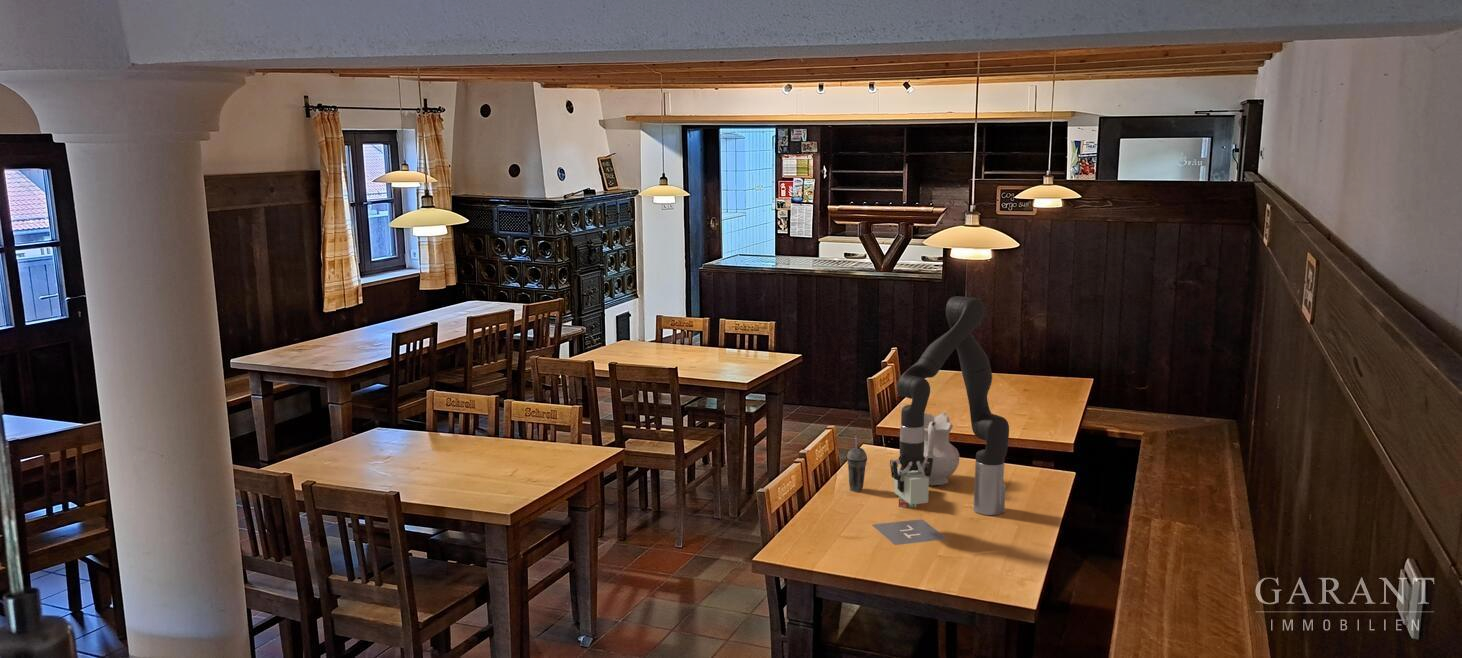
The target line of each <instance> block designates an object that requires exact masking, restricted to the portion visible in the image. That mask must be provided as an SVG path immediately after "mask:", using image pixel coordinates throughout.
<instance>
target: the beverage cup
mask: <svg viewBox="0 0 1462 658" xmlns="http://www.w3.org/2000/svg"><path fill="white" fill-rule="evenodd" d="M846 456H847V457H846V460H847V466H848V469H847V470H848V479H849V480H848V484H849V485H848V486H849V490H850V492H853V491H854V492H855V493H858V492H859V491H860V492H862V491H863V487H864V482H865V473H866V466H867V461H868V455H867V452H866V451H865V450H864V448H862V447H859V446H858V436H857V435H855V446H854V447H852V448H851V449H849V450H848V453H847V455H846Z"/></svg>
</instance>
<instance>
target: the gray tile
mask: <svg viewBox="0 0 1462 658" xmlns="http://www.w3.org/2000/svg"><path fill="white" fill-rule="evenodd" d="M871 526H872V527H874V529H876V530H877V531H878V532H879V533H880V534H881V535H883V536H884V537H885V538H886V539H887V540H888V541H890V542H891V543H892V544H893V545H894V546H898V545H907V544H916V543H917V544H918V543H925V542H933V541H943V540H948V538H947V537H946V536H945V535H943V534H942V533H941V532H940V531H938V530H937V529H935V527H933V526H931V525H930V524H929V522H926V521H925V520H924V519H923V518H922V519H912V520H903V521H902V520H901V521H894V522H884V523H882V522H881V523H875V524H871Z"/></svg>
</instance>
